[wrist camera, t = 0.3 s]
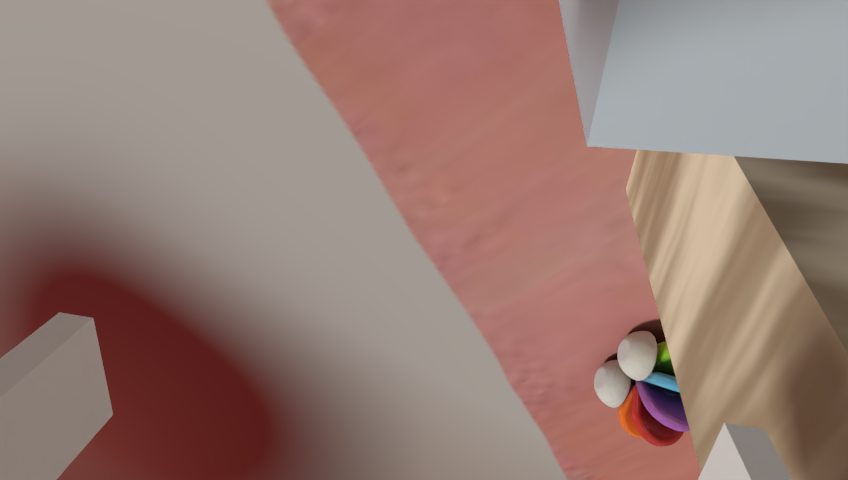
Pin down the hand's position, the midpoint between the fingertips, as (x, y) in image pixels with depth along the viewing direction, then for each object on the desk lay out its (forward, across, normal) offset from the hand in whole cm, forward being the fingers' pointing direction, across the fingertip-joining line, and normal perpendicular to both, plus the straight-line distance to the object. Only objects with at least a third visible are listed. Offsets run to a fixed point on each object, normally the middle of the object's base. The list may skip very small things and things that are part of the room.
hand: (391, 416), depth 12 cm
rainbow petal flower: (+32, +18, -20) cm, 42 cm away
